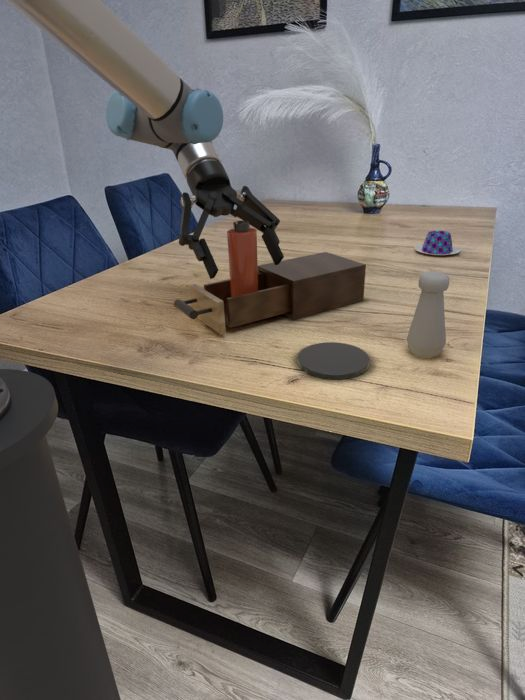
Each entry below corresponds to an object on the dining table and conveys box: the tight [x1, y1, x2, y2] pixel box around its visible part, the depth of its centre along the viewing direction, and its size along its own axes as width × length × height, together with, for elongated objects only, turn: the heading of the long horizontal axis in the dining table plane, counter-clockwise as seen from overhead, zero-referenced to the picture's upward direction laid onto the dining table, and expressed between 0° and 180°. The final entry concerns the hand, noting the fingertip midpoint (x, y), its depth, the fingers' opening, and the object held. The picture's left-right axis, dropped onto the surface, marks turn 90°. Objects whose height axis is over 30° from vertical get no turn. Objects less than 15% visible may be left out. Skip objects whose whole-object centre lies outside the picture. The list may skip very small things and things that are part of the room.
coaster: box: [296, 341, 371, 380], centre depth 73 cm, size 11×11×1 cm
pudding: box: [413, 230, 461, 257], centre depth 128 cm, size 12×12×5 cm
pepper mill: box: [226, 220, 259, 297], centre depth 86 cm, size 5×5×16 cm
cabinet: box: [258, 251, 367, 321], centre depth 96 cm, size 18×13×8 cm
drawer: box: [173, 272, 291, 334], centre depth 87 cm, size 21×11×6 cm, turn 122°
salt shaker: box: [406, 270, 450, 360], centre depth 72 cm, size 6×6×13 cm
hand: (248, 267), depth 84 cm, fingers open, 13 cm apart
